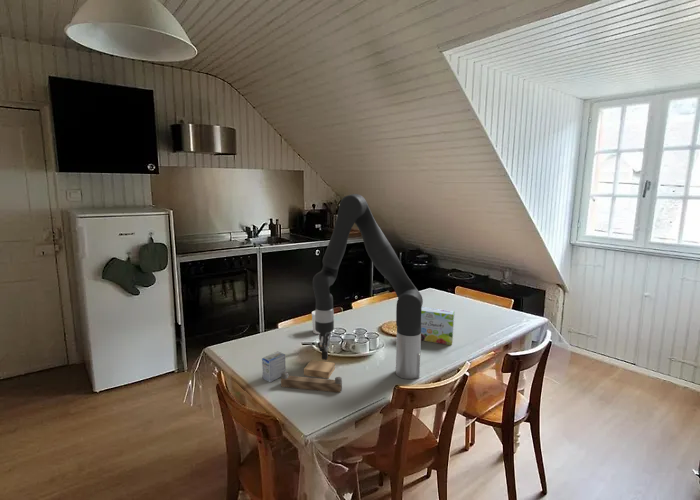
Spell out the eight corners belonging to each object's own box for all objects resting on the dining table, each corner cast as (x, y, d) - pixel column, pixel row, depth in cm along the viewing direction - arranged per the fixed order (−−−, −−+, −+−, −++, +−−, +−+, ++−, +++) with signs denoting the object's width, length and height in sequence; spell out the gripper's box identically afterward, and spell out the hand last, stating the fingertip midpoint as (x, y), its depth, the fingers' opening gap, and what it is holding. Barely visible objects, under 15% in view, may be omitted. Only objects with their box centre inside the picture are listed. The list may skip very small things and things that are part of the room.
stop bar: (342, 388, 147) (342, 376, 146) (340, 392, 144) (340, 380, 143) (283, 382, 150) (283, 371, 150) (280, 386, 148) (280, 375, 147)
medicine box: (278, 371, 159) (277, 350, 157) (286, 374, 156) (285, 353, 155) (262, 379, 153) (261, 357, 151) (270, 382, 150) (269, 361, 149)
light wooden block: (334, 369, 161) (334, 362, 161) (328, 379, 154) (328, 372, 153) (311, 366, 164) (311, 359, 163) (303, 376, 156) (303, 368, 156)
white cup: (331, 331, 199) (331, 312, 197) (319, 336, 194) (319, 316, 192) (320, 327, 205) (320, 308, 203) (308, 331, 199) (308, 312, 197)
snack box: (406, 339, 191) (407, 308, 188) (408, 334, 196) (409, 304, 193) (451, 345, 184) (453, 314, 181) (453, 341, 189) (455, 310, 186)
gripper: (329, 325, 156) (329, 367, 160) (337, 314, 169) (337, 352, 172) (311, 324, 158) (311, 365, 161) (319, 312, 170) (320, 351, 174)
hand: (324, 358), depth 167 cm, fingers closed
